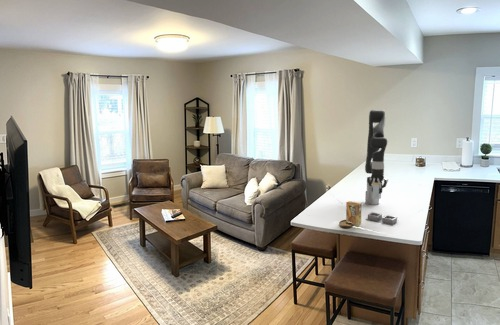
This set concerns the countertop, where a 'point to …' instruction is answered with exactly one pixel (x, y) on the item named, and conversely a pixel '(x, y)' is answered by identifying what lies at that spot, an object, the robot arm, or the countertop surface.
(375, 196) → the plug
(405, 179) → the countertop surface
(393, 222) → the grey boxy piece
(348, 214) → the candy box
